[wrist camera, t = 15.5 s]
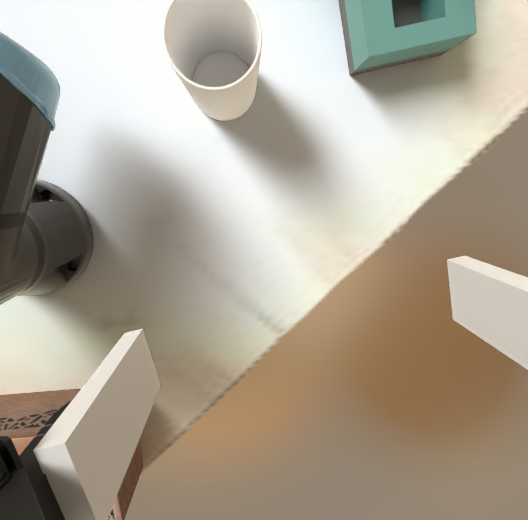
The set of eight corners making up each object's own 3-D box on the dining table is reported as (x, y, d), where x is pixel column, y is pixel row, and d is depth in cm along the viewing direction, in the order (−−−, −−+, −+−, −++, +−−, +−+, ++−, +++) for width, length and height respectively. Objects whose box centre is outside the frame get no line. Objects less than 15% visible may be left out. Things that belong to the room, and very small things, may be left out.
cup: (198, 41, 43) (173, -37, 28) (263, 61, 44) (273, -3, 29) (184, 110, 45) (152, 73, 29) (246, 128, 46) (248, 102, 30)
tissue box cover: (-23, 479, 56) (-79, 543, 46) (-46, 397, 52) (-112, 447, 43) (143, 464, 57) (122, 523, 47) (130, 383, 53) (105, 429, 44)
